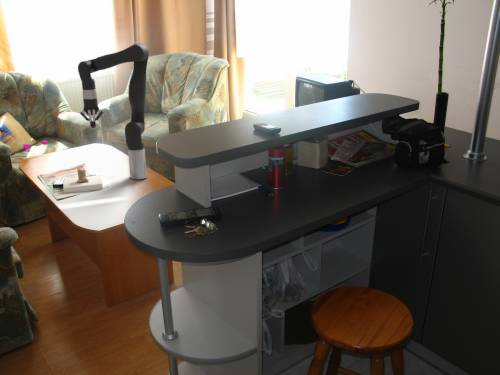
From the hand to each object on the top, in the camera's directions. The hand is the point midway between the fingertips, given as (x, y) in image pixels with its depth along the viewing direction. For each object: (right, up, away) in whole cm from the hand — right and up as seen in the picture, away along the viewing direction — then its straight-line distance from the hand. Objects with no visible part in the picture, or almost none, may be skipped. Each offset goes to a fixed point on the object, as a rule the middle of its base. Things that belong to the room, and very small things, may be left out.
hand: (93, 127), depth 283 cm
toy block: (-56, -11, +56) cm, 80 cm away
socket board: (-3, -34, -8) cm, 35 cm away
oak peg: (-3, -34, -8) cm, 35 cm away
